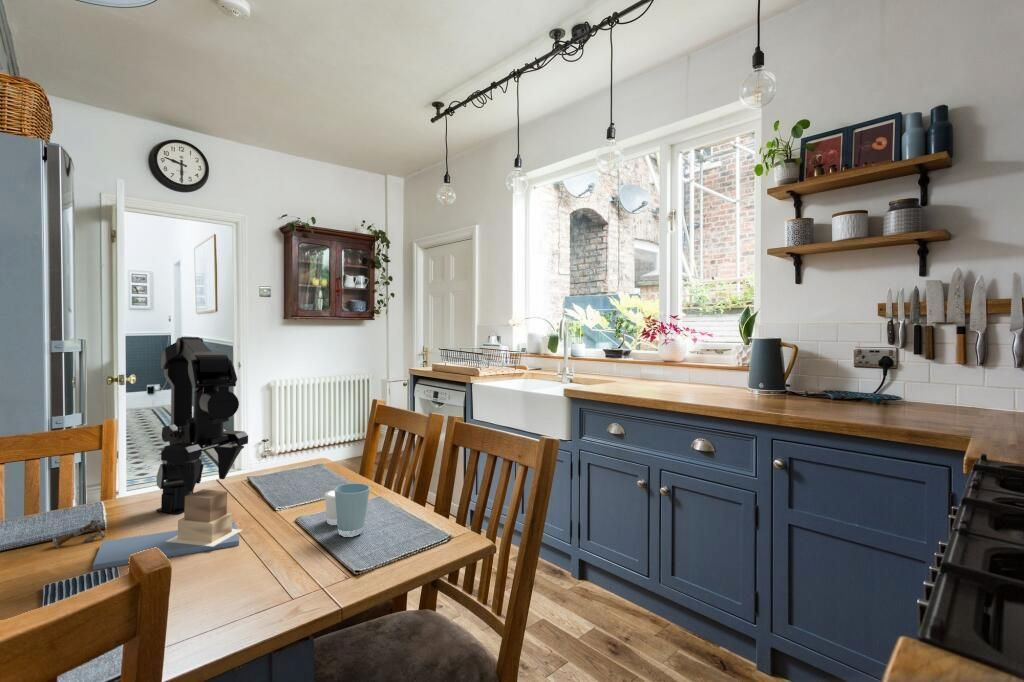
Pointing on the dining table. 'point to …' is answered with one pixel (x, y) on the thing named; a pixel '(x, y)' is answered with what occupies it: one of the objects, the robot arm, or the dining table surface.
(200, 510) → the walnut block
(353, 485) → the cup
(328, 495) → the shot glass
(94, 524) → the wooden post with brackets
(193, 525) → the beech block
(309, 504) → the dining table surface
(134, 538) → the board
